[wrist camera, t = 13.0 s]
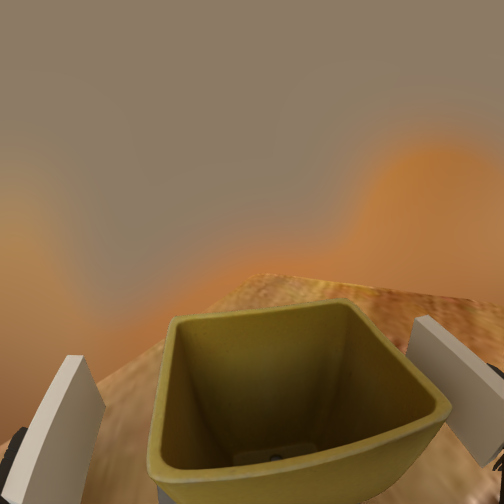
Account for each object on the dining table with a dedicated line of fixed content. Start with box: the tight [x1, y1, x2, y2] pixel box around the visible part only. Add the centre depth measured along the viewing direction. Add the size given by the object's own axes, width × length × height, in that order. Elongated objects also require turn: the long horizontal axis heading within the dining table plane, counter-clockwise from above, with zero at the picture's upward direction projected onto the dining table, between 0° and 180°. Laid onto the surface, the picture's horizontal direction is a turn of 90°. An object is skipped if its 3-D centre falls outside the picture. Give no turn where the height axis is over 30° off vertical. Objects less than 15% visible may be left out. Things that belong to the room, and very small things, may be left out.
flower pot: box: [147, 298, 453, 504], centre depth 11 cm, size 9×9×9 cm
